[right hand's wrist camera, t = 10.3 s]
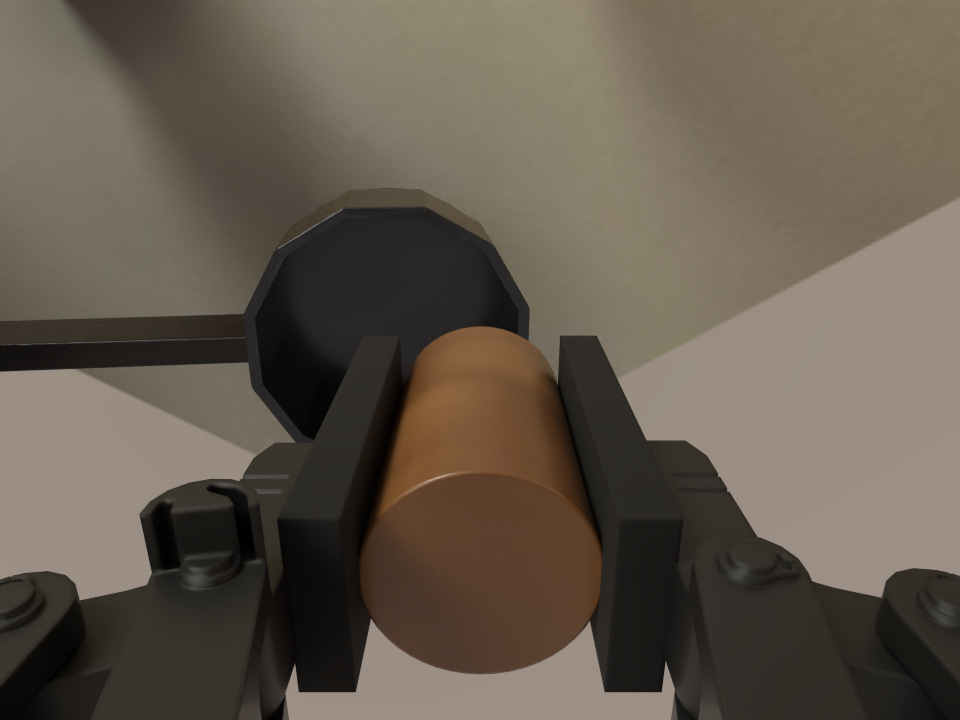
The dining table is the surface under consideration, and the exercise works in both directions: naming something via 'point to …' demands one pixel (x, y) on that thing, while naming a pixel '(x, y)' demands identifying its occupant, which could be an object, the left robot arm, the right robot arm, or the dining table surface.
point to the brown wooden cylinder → (480, 512)
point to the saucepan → (312, 305)
